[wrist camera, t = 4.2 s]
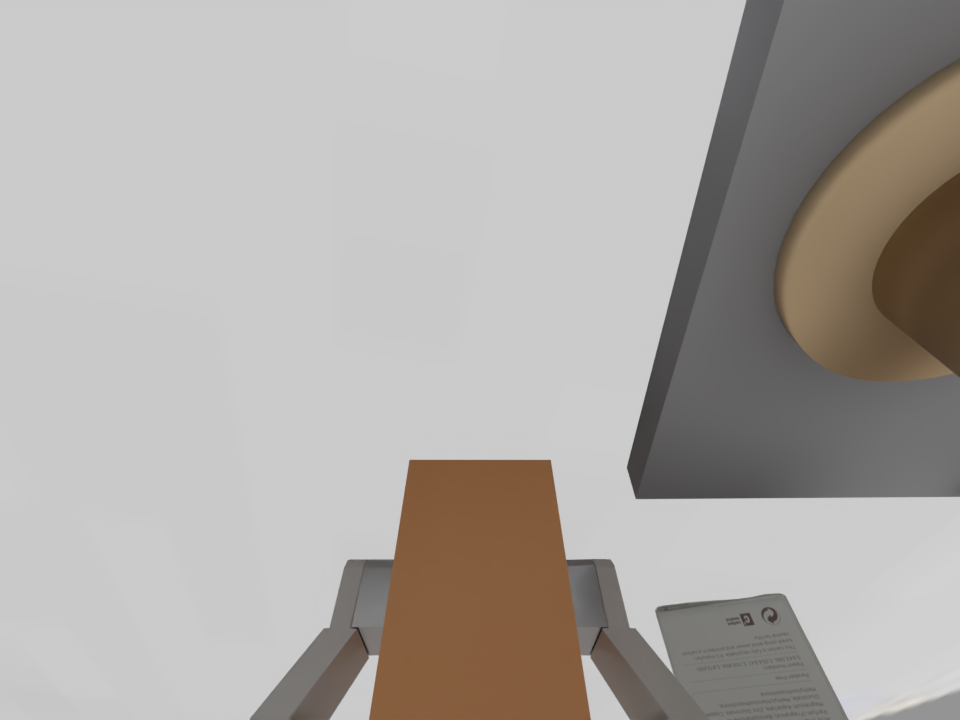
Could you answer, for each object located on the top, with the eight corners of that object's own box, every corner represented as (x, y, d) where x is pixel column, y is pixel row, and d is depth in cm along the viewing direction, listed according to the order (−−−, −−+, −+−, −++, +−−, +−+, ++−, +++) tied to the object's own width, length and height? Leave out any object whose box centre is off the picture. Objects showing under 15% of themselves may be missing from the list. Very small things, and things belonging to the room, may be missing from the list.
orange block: (421, 535, 15) (387, 836, 10) (409, 459, 13) (354, 809, 7) (538, 535, 15) (572, 837, 10) (550, 459, 13) (605, 810, 7)
